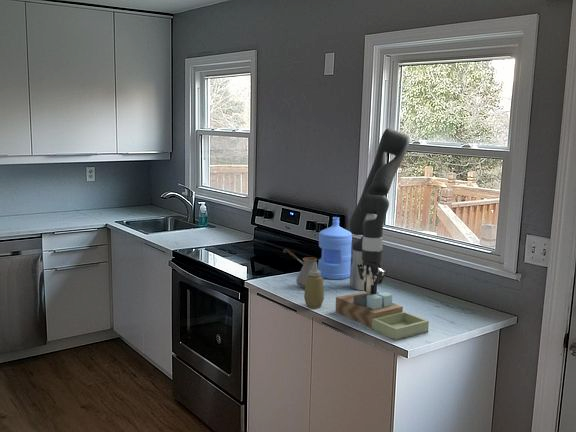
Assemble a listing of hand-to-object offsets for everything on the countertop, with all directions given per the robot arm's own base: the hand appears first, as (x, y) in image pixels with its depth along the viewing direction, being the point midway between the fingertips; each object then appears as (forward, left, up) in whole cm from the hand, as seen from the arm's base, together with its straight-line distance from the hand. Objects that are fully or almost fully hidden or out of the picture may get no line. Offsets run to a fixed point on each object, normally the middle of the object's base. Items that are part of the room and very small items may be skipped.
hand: (370, 292), depth 225 cm
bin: (+16, 0, -10) cm, 19 cm away
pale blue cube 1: (+5, -2, -4) cm, 7 cm away
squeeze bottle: (-22, -10, -10) cm, 26 cm away
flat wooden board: (-1, 0, -10) cm, 10 cm away
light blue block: (+5, +3, -4) cm, 7 cm away
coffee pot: (-49, +3, -10) cm, 50 cm away
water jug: (-54, +26, -10) cm, 61 cm away
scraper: (0, 0, -4) cm, 4 cm away
